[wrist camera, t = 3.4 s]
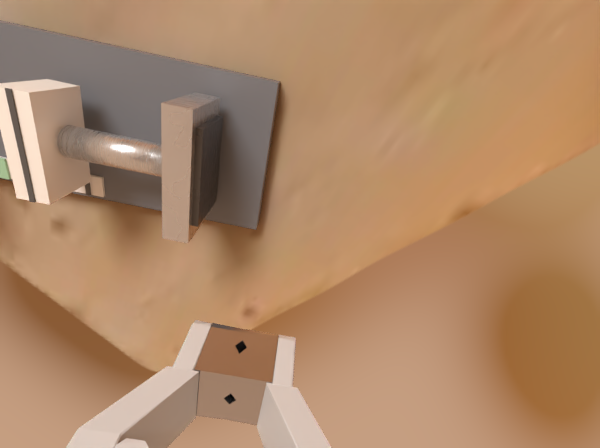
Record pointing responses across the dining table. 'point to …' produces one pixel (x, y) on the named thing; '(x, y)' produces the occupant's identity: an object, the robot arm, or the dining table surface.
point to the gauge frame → (150, 112)
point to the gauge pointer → (41, 138)
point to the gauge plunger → (165, 159)
